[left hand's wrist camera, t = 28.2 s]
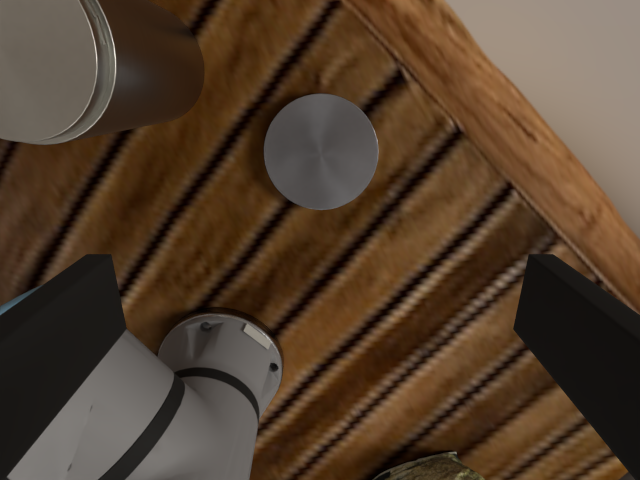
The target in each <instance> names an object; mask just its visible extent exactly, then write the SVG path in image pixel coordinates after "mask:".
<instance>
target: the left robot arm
mask: <svg viewBox="0 0 640 480" xmlns="http://www.w3.org/2000/svg"><path fill="white" fill-rule="evenodd" d="M513 329H514V331H515V332H516V333H517V334H518V336H519V337H520V338H521V339H522V341H523V342H524V343H525V344H526V345H527V347H528V348H529V349H530V350H531V352H532V353H533V354H534V355H535V357H536V358H537V359H538V360H539V361H540V363H541V364H542V365H543V366H544V368H545V369H546V370H547V371H548V373H549V374H550V375H551V376H552V377H553V379H554V380H555V381H556V382H557V384H558V385H559V386H560V387H561V389H562V390H563V391H564V392H565V394H566V395H567V396H568V397H569V398H570V400H571V401H572V402H573V403H574V405H575V406H576V407H577V408H578V410H579V411H580V412H581V413H582V414H583V416H584V417H585V418H586V419H587V421H588V422H589V423H590V424H591V426H592V427H593V428H594V429H595V431H596V432H597V433H598V434H599V435H600V437H601V438H602V439H603V440H604V442H605V443H606V444H607V445H608V447H609V448H610V449H611V450H612V451H613V453H614V454H615V455H616V456H617V458H618V459H619V460H620V461H621V463H622V464H623V465H624V466H625V468H626V469H627V470H628V471H629V472H630V474H631V475H632V476H633V477H634V479H635V480H640V315H639V314H638V313H636V312H635V311H633V310H632V309H630V308H629V307H628V306H626V305H625V304H623V303H622V302H620V301H619V300H618V299H616V298H615V297H613V296H612V295H610V294H609V293H608V292H606V291H605V290H603V289H602V288H600V287H599V286H598V285H596V284H595V283H593V282H592V281H590V280H589V279H588V278H586V277H585V276H583V275H582V274H580V273H579V272H578V271H576V270H575V269H573V268H572V267H571V266H569V265H568V264H566V263H565V262H563V261H562V260H561V259H559V258H558V257H556V256H555V255H553V254H529V256H528V261H527V266H526V271H525V275H524V280H523V285H522V290H521V295H520V299H519V304H518V309H517V314H516V319H515V323H514V328H513ZM283 365H284V359H283V353H282V349H281V346H280V344H279V342H278V340H277V338H276V337H275V335H274V334H273V333H272V332H271V330H270V329H269V328H268V327H267V326H266V325H264V324H263V323H262V322H260V321H259V320H258V319H256V318H254V317H252V316H250V315H248V314H246V313H243V312H240V311H237V310H233V309H226V308H209V309H203V310H199V311H196V312H193V313H191V314H189V315H187V316H185V317H184V318H182V319H181V320H179V321H178V322H177V323H176V324H175V325H174V326H173V327H172V328H171V330H170V331H169V333H168V334H167V336H166V337H165V339H164V341H163V342H162V344H161V346H160V349H159V353H158V357H157V356H156V355H155V354H154V353H152V352H151V351H150V350H149V349H148V348H147V347H146V346H145V345H144V344H143V343H142V342H141V341H139V340H138V339H137V338H136V337H135V336H134V335H133V334H132V333H131V332H130V331H129V330H128V329H127V328H126V323H125V319H124V314H123V309H122V304H121V299H120V295H119V290H118V285H117V280H116V275H115V271H114V266H113V261H112V256H111V254H87V255H85V256H84V257H82V258H81V259H79V260H78V261H77V262H75V263H74V264H72V265H71V266H69V267H68V268H67V269H65V270H64V271H62V272H61V273H60V274H58V275H57V276H55V277H54V278H52V279H51V280H50V281H48V282H47V283H45V284H44V285H41V286H39V287H37V288H34V289H32V290H30V291H28V292H26V293H24V294H22V295H20V296H18V297H16V298H15V299H13V300H11V301H9V302H7V303H5V304H3V305H2V306H0V480H249V477H250V471H251V465H252V459H253V453H254V447H255V441H256V435H257V428H258V423H259V419H260V417H261V416H262V414H263V412H264V411H265V409H266V408H267V406H268V405H269V403H270V402H271V400H272V398H273V397H274V395H275V394H276V392H277V390H278V388H279V386H280V383H281V380H282V373H283Z"/></svg>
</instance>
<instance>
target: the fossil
mask: <svg viewBox="0 0 640 480" xmlns="http://www.w3.org/2000/svg"><path fill="white" fill-rule="evenodd" d="M372 480H485V479H484V478H483V477H482V476H481V475H480V474H478V473H476V472H474V471H473V470H471V469H470V468H469V467H467V466H464V465H462V463H461V461H460V460H459V458H458V457H457V453H456V452H447V453H442V454H438V455H433V456H429V457H425V458H420V459H418V460H416V461H412V462H407V463H404V464H401V465H399V466H396V467H394V468H391V469H389V470H387V471H384V472H383V473H381V474H379V475H378V476H377V477H375V478H374V479H372Z"/></svg>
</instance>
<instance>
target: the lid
mask: <svg viewBox="0 0 640 480" xmlns="http://www.w3.org/2000/svg"><path fill="white" fill-rule="evenodd" d="M264 161H265V166H266V169H267V172H268V175H269V177H270V179H271V181H272V182H273V184H274V185H275V187H276V188H277V189H278V191H279V192H280V193H281V194H282V195H284V196H285V197H286V198H287V199H289V200H290V201H292V202H293V203H295V204H298V205H300V206H302V207H306V208H310V209H318V210H324V209H332V208H336V207H339V206H342V205H344V204H346V203H349V202H350V201H352V200H353V199H355V198H356V197H357V196H358V195H360V194H361V193H362V191H363V190H364V189H365V188H366V187H367V185H368V184H369V182H370V181H371V179H372V177H373V175H374V172H375V169H376V166H377V161H378V143H377V137H376V134H375V131H374V129H373V126H372V124H371V122H370V121H369V119H368V118H367V116H366V115H365V114H364V113H363V112H362V111H361V110H360V109H359V108H358V107H357V106H356V105H354V104H353V103H351V102H350V101H348V100H346V99H344V98H342V97H339V96H336V95H331V94H321V93H319V94H311V95H306V96H303V97H301V98H298V99H296V100H294V101H292V102H290V103H289V104H288V105H286V106H285V107H284V108H283V109H282V110H281V111H280V112H279V113H278V114H277V115H276V117H275V118H274V119H273V121H272V123H271V124H270V126H269V129H268V131H267V134H266V138H265V143H264Z"/></svg>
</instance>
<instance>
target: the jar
mask: <svg viewBox="0 0 640 480" xmlns="http://www.w3.org/2000/svg"><path fill="white" fill-rule="evenodd" d="M203 82H204V63H203V57H202V54H201V50H200V48H199V45H198V43H197V41H196V39H195V37H194V36H193V34H192V33H191V31H190V30H189V28H188V27H187V26H186V25H185V24H184V23H183V22H182V21H181V20H180V19H179V18H178V17H176V16H175V15H173V14H172V13H170V12H169V11H167V10H165V9H163V8H161V7H159V6H157V5H156V4H154V3H152V2H150V1H148V0H0V138H1V139H5V140H11V141H16V142H24V143H30V144H40V145H49V144H58V143H63V142H68V141H73V140H78V139H83V138H88V137H93V136H98V135H103V134H108V133H113V132H118V131H123V130H128V129H133V128H138V127H143V126H148V125H153V124H158V123H163V122H167V121H171V120H174V119H177V118H179V117H181V116H182V115H184V114H185V113H186V112H188V111H189V110H190V109H191V108H192V107H193V105H194V104H195V103H196V101H197V99H198V97H199V95H200V93H201V90H202V87H203Z"/></svg>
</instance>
